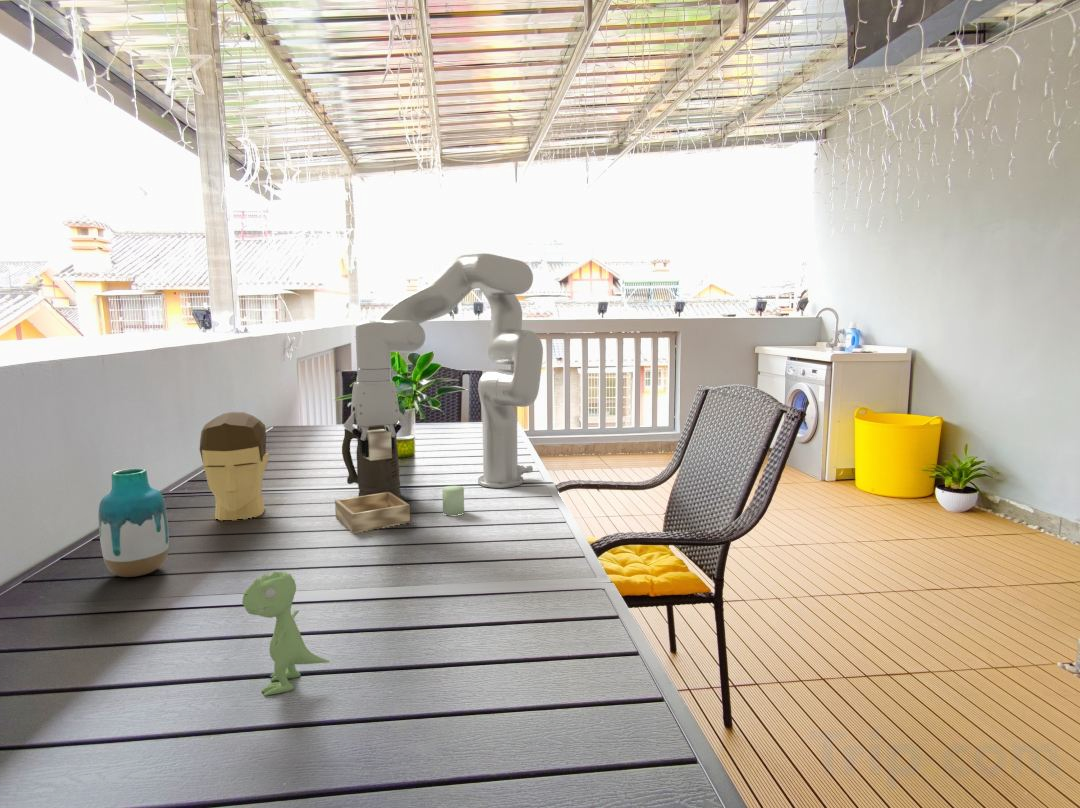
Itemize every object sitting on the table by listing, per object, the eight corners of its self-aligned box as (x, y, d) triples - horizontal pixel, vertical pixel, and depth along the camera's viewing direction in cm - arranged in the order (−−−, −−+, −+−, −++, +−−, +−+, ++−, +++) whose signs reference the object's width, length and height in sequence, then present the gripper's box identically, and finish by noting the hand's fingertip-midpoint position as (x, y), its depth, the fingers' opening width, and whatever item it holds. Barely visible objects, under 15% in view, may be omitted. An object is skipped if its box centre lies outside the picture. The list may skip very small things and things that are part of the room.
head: (193, 530, 140) (188, 412, 140) (212, 516, 160) (208, 413, 160) (263, 523, 143) (258, 409, 144) (273, 511, 164) (269, 411, 164)
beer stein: (409, 492, 174) (401, 417, 171) (396, 503, 163) (388, 424, 161) (353, 494, 176) (344, 421, 173) (337, 506, 165) (327, 428, 162)
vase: (185, 566, 124) (176, 467, 121) (134, 588, 114) (123, 481, 111) (142, 559, 127) (133, 463, 125) (89, 580, 117) (78, 476, 115)
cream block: (384, 454, 155) (383, 429, 154) (391, 458, 151) (391, 432, 150) (363, 456, 152) (362, 431, 151) (370, 460, 148) (369, 434, 147)
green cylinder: (458, 508, 159) (458, 484, 159) (467, 514, 155) (467, 489, 154) (439, 512, 157) (438, 487, 156) (448, 517, 153) (448, 492, 152)
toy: (247, 684, 85) (237, 573, 82) (305, 660, 90) (297, 555, 88) (270, 707, 80) (261, 590, 77) (330, 680, 85) (323, 570, 83)
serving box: (389, 509, 159) (389, 491, 159) (410, 523, 149) (409, 504, 148) (335, 518, 152) (334, 500, 152) (353, 533, 142) (352, 514, 141)
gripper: (404, 373, 157) (406, 448, 159) (331, 376, 147) (335, 456, 150) (416, 375, 150) (418, 453, 153) (341, 379, 141) (345, 462, 144)
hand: (377, 454), depth 151 cm, fingers closed on cream block, 4 cm apart
